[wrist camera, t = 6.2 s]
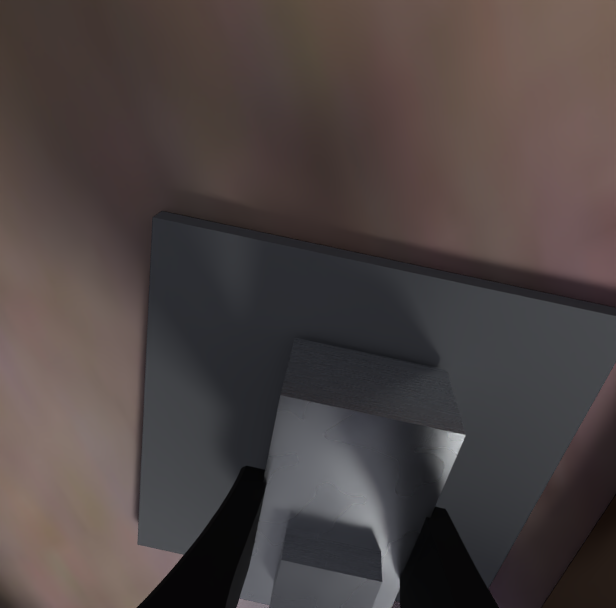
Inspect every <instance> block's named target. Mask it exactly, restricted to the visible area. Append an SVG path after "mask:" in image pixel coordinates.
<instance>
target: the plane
mask: <svg viewBox="0 0 616 608" xmlns="http://www.w3.org/2000/svg"><path fill="white" fill-rule="evenodd" d="M542 608H616V496H615V497H614V499H613V500H612V502H611V503H610V505H609V506H608V508H607V509H606V511H605V512H604V514H603V515H602V517H601V518H600V520H599V521H598V523H597V524H596V526H595V528H594V529H593V531H592V532H591V534H590V535H589V537H588V538H587V540H586V541H585V543H584V544H583V546H582V547H581V549H580V550H579V552H578V553H577V555H576V556H575V558H574V559H573V561H572V562H571V564H570V565H569V567H568V568H567V570H566V572H565V573H564V575H563V576H562V578H561V579H560V581H559V582H558V584H557V585H556V587H555V588H554V590H553V591H552V593H551V594H550V596H549V597H548V599H547V600H546V602H545V603H544V605H543V606H542Z"/></svg>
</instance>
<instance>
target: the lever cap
mask: <svg viewBox="0 0 616 608" xmlns="http://www.w3.org/2000/svg"><path fill="white" fill-rule="evenodd" d="M465 436H466V434H465V431H464V427H463V424H462V421H461V417H460V414H459V410H458V407H457V404H456V400H455V397H454V393H453V390H452V387H451V383H450V380H449V376H448V373H447V370H444V369H439V368H434V367H430V366H425V365H420V364H416V363H411V362H406V361H402V360H397V359H393V358H388V357H383V356H379V355H374V354H369V353H365V352H360V351H355V350H351V349H346V348H341V347H337V346H332V345H327V344H323V343H318V342H313V341H309V340H304V339H299V338H295V339H294V343H293V347H292V351H291V355H290V359H289V363H288V367H287V371H286V375H285V379H284V383H283V387H282V391H281V395H280V400H279V405H278V410H277V415H276V420H275V425H274V430H273V435H272V440H271V445H270V450H269V455H268V460H267V465H266V470H265V475H264V480H263V482H267V484H266V489H265V494H264V499H263V504H262V509H261V513H260V518H259V523H258V528H257V533H256V538H255V543H254V547H253V552H252V556H251V561H250V565H249V569H248V572H247V575H246V579H245V582H244V585H243V588H242V591H241V594H240V599H244V600H249V601H254V602H258V603H263V604H267V605H270V606H269V608H392V605H393V603H394V601H395V598H396V596H397V594H398V591H399V589H400V578H401V576H402V573H403V571H404V569H405V566H406V564H407V561H408V559H409V557H410V554H411V552H412V550H413V547H414V545H415V543H416V540H417V538H418V536H419V533H420V531H421V529H422V526H423V524H424V522H425V519H426V517H429V518H430V517H431V515H432V512H433V510H434V508H435V505H436V503H437V501H438V498H439V496H440V494H441V491H442V489H443V487H444V485H445V482H446V480H447V478H448V475H449V473H450V471H451V468H452V466H453V464H454V461H455V459H456V457H457V454H458V452H459V450H460V447H461V445H462V443H463V440H464V438H465Z"/></svg>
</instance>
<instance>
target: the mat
mask: <svg viewBox="0 0 616 608" xmlns="http://www.w3.org/2000/svg"><path fill="white" fill-rule="evenodd" d="M295 338H299V339H304V340H309V341H313V342H318V343H323V344H327V345H332V346H337V347H341V348H346V349H351V350H355V351H360V352H365V353H369V354H374V355H379V356H383V357H388V358H393V359H397V360H402V361H406V362H411V363H416V364H420V365H425V366H430V367H434V368H439V369H444V370H447V373H448V376H449V380H450V383H451V387H452V390H453V393H454V397H455V400H456V404H457V407H458V410H459V414H460V417H461V421H462V424H463V427H464V431H465V434H466V436H465V438H464V440H463V443H462V445H461V447H460V450H459V452H458V454H457V457H456V459H455V461H454V464H453V466H452V468H451V471H450V473H449V475H448V478H447V480H446V482H445V485H444V487H443V489H442V491H441V494H440V496H439V498H438V501H437V503H436V505H435V507H440V508H445V509H446V510H447V512H448V514H449V516H450V518H451V520H452V522H453V523H454V525H455V527H456V529H457V531H458V533H459V535H460V537H461V539H462V541H463V543H464V545H465V547H466V549H467V551H468V553H469V555H470V557H471V559H472V560H473V562H474V564H475V566H476V568H477V570H478V572H479V573H480V575H481V577H482V579H483V581H484V582H485V584H486V586H487V588H489V587H490V585H491V583H492V581H493V579H494V578H495V576H496V574H497V572H498V571H499V569H500V567H501V565H502V563H503V562H504V560H505V558H506V556H507V555H508V553H509V551H510V549H511V547H512V546H513V544H514V542H515V540H516V539H517V537H518V535H519V533H520V531H521V530H522V528H523V526H524V524H525V523H526V521H527V519H528V517H529V515H530V514H531V512H532V510H533V508H534V507H535V505H536V503H537V501H538V499H539V498H540V496H541V494H542V492H543V491H544V489H545V487H546V485H547V483H548V482H549V480H550V478H551V476H552V475H553V473H554V471H555V469H556V467H557V466H558V464H559V462H560V460H561V459H562V457H563V455H564V453H565V451H566V450H567V448H568V446H569V444H570V443H571V441H572V439H573V437H574V435H575V434H576V432H577V430H578V428H579V427H580V425H581V423H582V421H583V419H584V418H585V416H586V414H587V412H588V411H589V409H590V407H591V405H592V403H593V402H594V400H595V398H596V396H597V395H598V393H599V391H600V389H601V387H602V386H603V384H604V382H605V380H606V379H607V377H608V375H609V373H610V371H611V370H612V368H613V366H614V364H615V363H616V308H614V307H610V306H605V305H600V304H595V303H591V302H586V301H581V300H577V299H572V298H567V297H563V296H558V295H553V294H549V293H544V292H539V291H535V290H530V289H525V288H520V287H516V286H511V285H506V284H502V283H497V282H492V281H488V280H483V279H478V278H474V277H469V276H464V275H459V274H455V273H450V272H445V271H441V270H436V269H431V268H427V267H422V266H417V265H413V264H408V263H403V262H399V261H394V260H389V259H384V258H380V257H375V256H370V255H366V254H361V253H356V252H352V251H347V250H342V249H338V248H333V247H328V246H324V245H319V244H314V243H309V242H305V241H300V240H295V239H291V238H286V237H281V236H277V235H272V234H267V233H263V232H258V231H253V230H249V229H244V228H239V227H234V226H230V225H225V224H220V223H216V222H211V221H206V220H202V219H197V218H192V217H188V216H183V215H178V214H173V213H169V212H164V211H161V212H160V213H158V214H157V215H155V216H154V217H153V220H152V241H151V263H150V285H149V307H148V328H147V350H146V372H145V393H144V415H143V437H142V459H141V480H140V502H139V524H138V545H142V546H147V547H151V548H156V549H161V550H165V551H170V552H174V553H179V554H183V555H184V554H185V553H186V552H187V551H188V549H189V548H190V547H191V545H192V544H193V543H194V542H195V540H196V539H197V538H198V537H199V535H200V534H201V533H202V531H203V530H204V529H205V527H206V526H207V524H208V523H209V521H210V520H211V519H212V517H213V516H214V514H215V513H216V512H217V510H218V509H219V507H220V506H221V504H222V502H223V501H224V499H225V498H226V496H227V495H228V493H229V491H230V490H231V488H232V486H233V484H234V482H235V480H236V479H237V477H238V474H239V472H240V470H241V468H242V467H244V466H251V467H256V468H260V469H265V470H266V465H267V460H268V455H269V450H270V445H271V440H272V435H273V430H274V425H275V420H276V415H277V410H278V405H279V400H280V395H281V391H282V387H283V383H284V379H285V375H286V371H287V367H288V363H289V359H290V355H291V351H292V347H293V343H294V339H295ZM395 601H399V602H400V589H399V591H398V594H397V596H396V598H395Z"/></svg>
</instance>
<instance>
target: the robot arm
mask: <svg viewBox="0 0 616 608" xmlns="http://www.w3.org/2000/svg"><path fill="white" fill-rule="evenodd" d="M264 475H265V469H260V468H256V467H251V466H244V467H242V468H241V470H240V472H239V474H238V477H237V479H236V480H235V482H234V484H233V486H232V488H231V490H230V491H229V493H228V495H227V496H226V498H225V499H224V501H223V502H222V504H221V506H220V507H219V509H218V510H217V512H216V513H215V514H214V516H213V517H212V519H211V520H210V521H209V523H208V524H207V526H206V527H205V529H204V530H203V531H202V533H201V534H200V535H199V537H198V538H197V539H196V540H195V542H194V543H193V544H192V545H191V547H190V548H189V549H188V551H187V552H186V553H185V554H184V556H183V557H182V558H181V559H180V561H179V562H178V563H177V564H176V565H175V566H174V568H173V569H172V570H171V571H170V572H169V573H168V575H167V576H166V577H165V578H164V579H163V580H162V581H161V582H160V584H159V585H158V586H157V587H156V588H155V589H154V590H153V591H152V592H151V593H150V594H149V595H148V597H147V598H146V599H145V600H144V601H143V602H142V603H141V604H140V605H139V606H138V607H137V608H236V607H237V604H238V601H239V598H240V594H241V591H242V588H243V585H244V582H245V579H246V575H247V572H248V569H249V565H250V561H251V556H252V552H253V547H254V543H255V538H256V533H257V528H258V523H259V518H260V513H261V509H262V504H263V499H264V494H265V489H266V484H267V482H263V480H264ZM400 606H401V608H499V607H498V605H497V604H496V602H495V600H494V598H493V597H492V595H491V593H490V591H489V589H488V588H487V586H486V584H485V582H484V581H483V579H482V577H481V575H480V573H479V572H478V570H477V568H476V566H475V564H474V562H473V560H472V559H471V557H470V555H469V553H468V551H467V549H466V547H465V545H464V543H463V541H462V539H461V537H460V535H459V533H458V531H457V529H456V527H455V525H454V523H453V522H452V520H451V518H450V516H449V514H448V512H447V510H446V509H445V508H440V507H435V508H434V510H433V512H432V515H431V517H430V518H429V517H426V519H425V522H424V524H423V526H422V529H421V531H420V533H419V536H418V538H417V540H416V543H415V545H414V547H413V550H412V552H411V554H410V557H409V559H408V561H407V564H406V566H405V569H404V571H403V573H402V576H401V578H400Z"/></svg>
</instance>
